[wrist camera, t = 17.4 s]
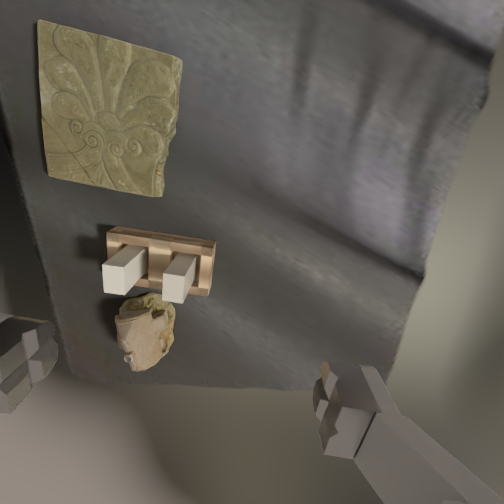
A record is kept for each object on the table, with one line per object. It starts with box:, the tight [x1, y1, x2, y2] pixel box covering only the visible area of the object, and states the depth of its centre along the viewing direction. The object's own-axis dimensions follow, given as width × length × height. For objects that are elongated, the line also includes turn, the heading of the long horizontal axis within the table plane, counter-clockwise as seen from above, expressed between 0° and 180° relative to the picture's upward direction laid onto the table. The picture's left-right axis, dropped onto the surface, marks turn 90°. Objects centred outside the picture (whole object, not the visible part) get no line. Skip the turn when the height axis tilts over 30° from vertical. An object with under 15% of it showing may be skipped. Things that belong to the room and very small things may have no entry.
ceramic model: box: [115, 292, 175, 371], centre depth 48 cm, size 14×11×10 cm
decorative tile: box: [37, 19, 182, 197], centre depth 38 cm, size 19×20×4 cm
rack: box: [106, 226, 216, 296], centre depth 46 cm, size 9×17×4 cm, turn 81°
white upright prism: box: [162, 252, 197, 304], centre depth 42 cm, size 4×3×8 cm, turn 171°
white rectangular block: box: [102, 244, 147, 295], centre depth 42 cm, size 4×3×8 cm, turn 172°
